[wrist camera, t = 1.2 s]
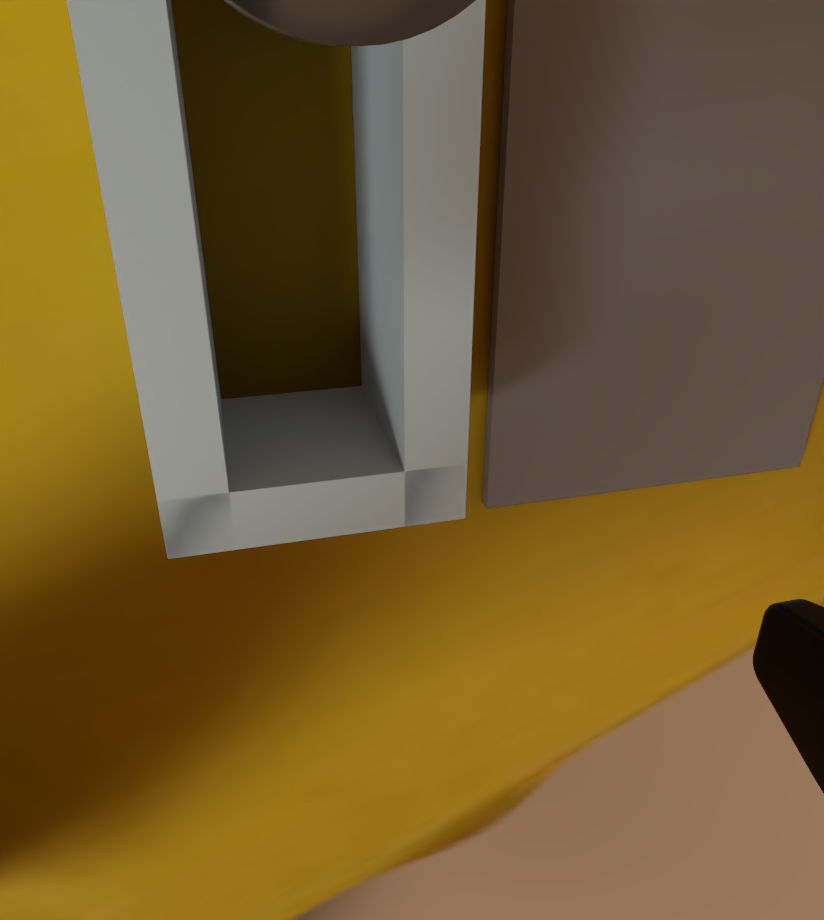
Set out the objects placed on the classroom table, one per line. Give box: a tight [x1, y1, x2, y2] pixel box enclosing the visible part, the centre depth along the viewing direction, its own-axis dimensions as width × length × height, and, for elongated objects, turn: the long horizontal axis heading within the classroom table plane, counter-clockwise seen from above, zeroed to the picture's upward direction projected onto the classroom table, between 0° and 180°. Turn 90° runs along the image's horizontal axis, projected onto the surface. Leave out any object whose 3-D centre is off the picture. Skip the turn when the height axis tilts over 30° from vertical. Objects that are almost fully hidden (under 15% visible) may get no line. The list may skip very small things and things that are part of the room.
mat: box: [482, 0, 824, 509], centre depth 19 cm, size 16×10×1 cm, turn 0°
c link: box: [67, 0, 486, 559], centre depth 14 cm, size 13×6×4 cm, turn 0°
